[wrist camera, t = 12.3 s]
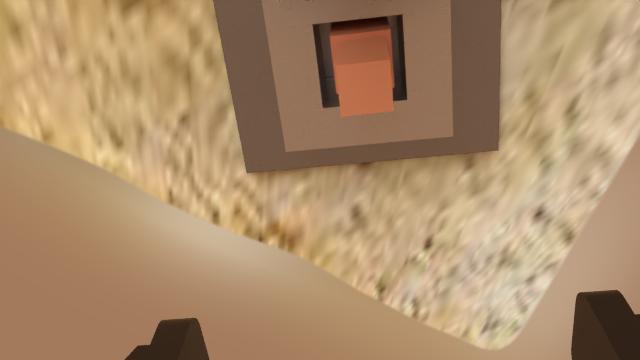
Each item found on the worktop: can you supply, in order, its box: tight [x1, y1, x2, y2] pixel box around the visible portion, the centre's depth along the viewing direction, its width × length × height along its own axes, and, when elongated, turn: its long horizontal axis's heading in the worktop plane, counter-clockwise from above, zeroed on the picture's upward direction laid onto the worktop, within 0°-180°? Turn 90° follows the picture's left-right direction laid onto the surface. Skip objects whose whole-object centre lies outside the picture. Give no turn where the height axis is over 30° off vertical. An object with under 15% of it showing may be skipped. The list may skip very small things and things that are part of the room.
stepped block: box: [330, 16, 395, 117], centre depth 31 cm, size 3×3×9 cm
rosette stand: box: [213, 0, 501, 173], centre depth 28 cm, size 18×16×17 cm
